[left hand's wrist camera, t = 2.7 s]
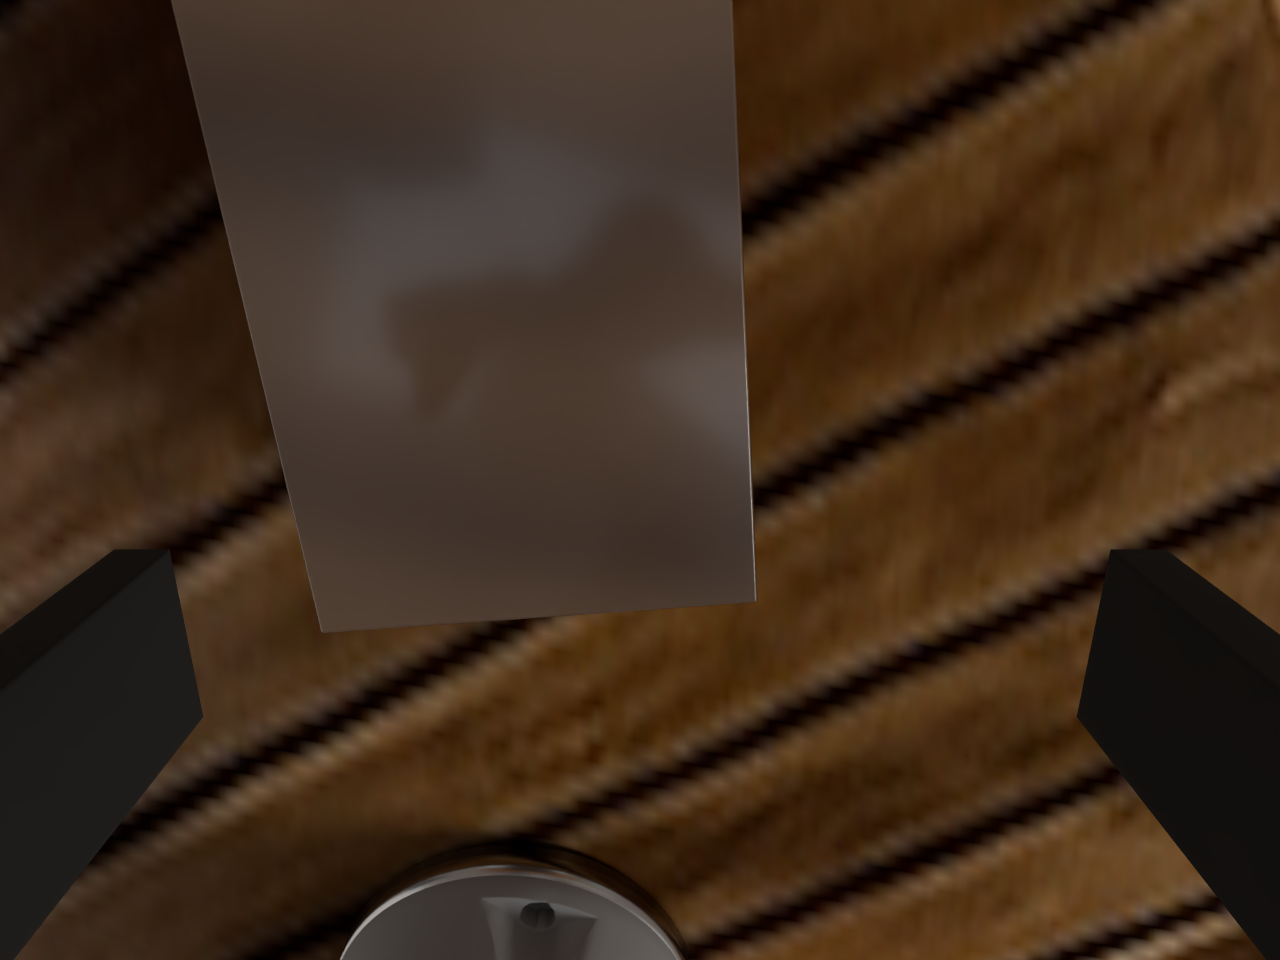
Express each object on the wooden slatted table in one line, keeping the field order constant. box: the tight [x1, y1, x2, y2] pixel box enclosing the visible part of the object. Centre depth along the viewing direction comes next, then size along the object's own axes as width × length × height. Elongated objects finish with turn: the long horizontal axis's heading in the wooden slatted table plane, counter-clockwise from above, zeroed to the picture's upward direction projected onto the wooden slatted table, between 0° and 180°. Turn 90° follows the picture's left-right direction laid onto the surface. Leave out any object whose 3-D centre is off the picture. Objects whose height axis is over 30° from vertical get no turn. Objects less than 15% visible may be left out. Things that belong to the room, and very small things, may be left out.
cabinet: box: [171, 0, 757, 633], centre depth 22 cm, size 22×11×10 cm, turn 5°
